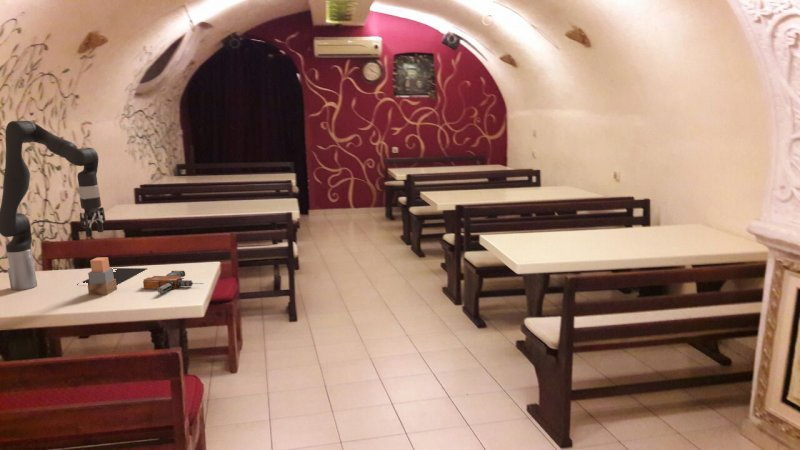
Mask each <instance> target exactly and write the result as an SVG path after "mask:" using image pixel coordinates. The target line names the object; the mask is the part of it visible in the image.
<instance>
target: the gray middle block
mask: <svg viewBox="0 0 800 450" xmlns="http://www.w3.org/2000/svg"><path fill="white" fill-rule="evenodd" d="M112 268H113V267H110V269H108V270H106V271H104V272H92V270H91V271H89V272H88V273H87V275H88V279H89V283H90V284H107V283H108V282H110V281H111V280H113V279H114V276H113V269H112Z"/></svg>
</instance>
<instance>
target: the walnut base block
mask: <svg viewBox="0 0 800 450" xmlns="http://www.w3.org/2000/svg"><path fill="white" fill-rule="evenodd" d="M87 289H88V290H87V291H88V296H108V294H109V295H110V294H112V293H114V292H115V291H117V290H118V285H117V284H116V279H113V280H111V281H110V282H108V283H107V284H88V286H87Z"/></svg>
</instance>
